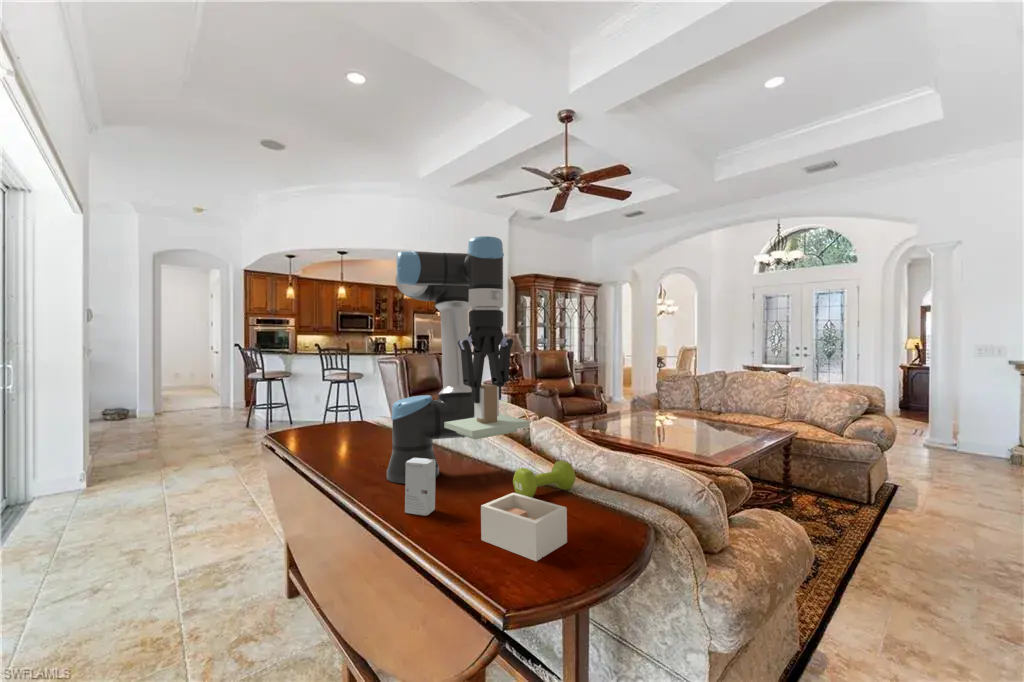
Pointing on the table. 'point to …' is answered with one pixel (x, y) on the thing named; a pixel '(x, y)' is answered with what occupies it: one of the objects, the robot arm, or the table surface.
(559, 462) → the dumbbell
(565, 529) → the box
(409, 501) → the skincare box
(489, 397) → the lid
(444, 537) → the table surface
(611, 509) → the table surface
